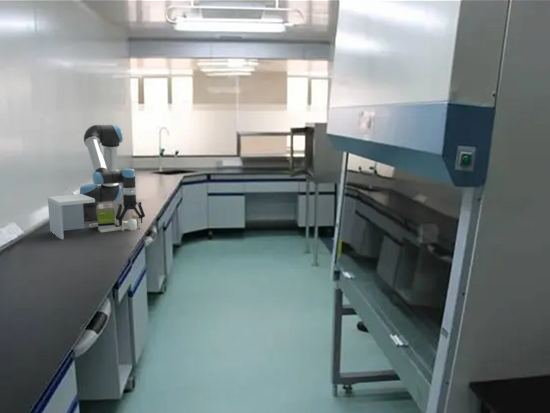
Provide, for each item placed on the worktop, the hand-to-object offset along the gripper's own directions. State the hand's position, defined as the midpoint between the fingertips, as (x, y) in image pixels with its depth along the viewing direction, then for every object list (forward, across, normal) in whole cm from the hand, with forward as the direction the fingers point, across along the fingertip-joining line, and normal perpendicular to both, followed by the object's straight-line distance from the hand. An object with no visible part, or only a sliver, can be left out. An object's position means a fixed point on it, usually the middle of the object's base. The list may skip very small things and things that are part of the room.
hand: (131, 229), depth 313 cm
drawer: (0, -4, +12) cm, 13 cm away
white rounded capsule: (0, 0, -2) cm, 2 cm away
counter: (0, -31, +12) cm, 33 cm away
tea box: (0, -11, +12) cm, 16 cm away
